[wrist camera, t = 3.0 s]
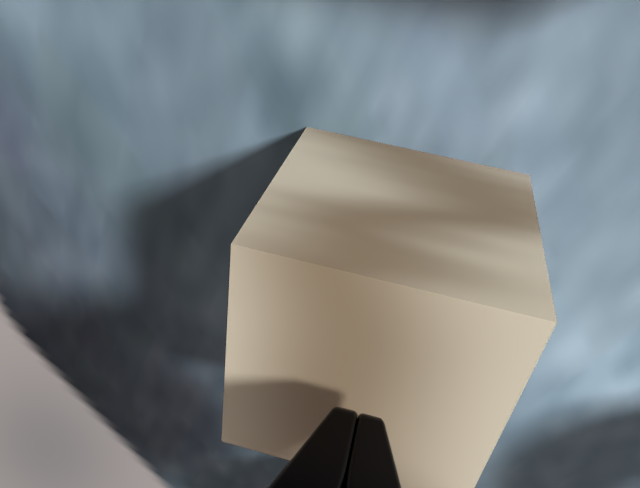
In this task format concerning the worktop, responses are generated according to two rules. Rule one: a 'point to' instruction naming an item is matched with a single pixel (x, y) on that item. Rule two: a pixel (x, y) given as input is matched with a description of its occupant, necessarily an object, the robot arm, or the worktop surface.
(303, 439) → the plain block
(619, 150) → the worktop surface
